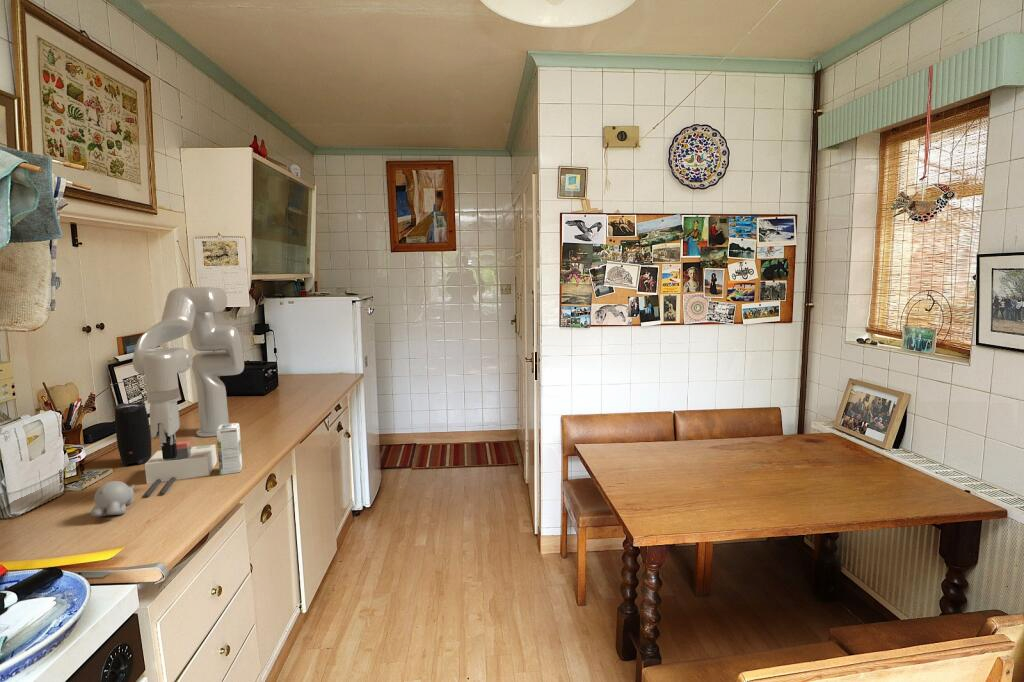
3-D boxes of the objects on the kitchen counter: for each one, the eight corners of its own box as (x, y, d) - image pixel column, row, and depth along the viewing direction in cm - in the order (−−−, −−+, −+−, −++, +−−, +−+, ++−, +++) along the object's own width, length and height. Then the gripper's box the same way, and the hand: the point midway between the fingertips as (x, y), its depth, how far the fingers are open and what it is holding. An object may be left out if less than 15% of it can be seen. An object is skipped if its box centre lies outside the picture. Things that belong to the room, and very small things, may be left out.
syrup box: (222, 468, 158) (217, 424, 156) (243, 465, 160) (239, 422, 158) (219, 475, 152) (215, 429, 150) (241, 472, 155) (237, 427, 153)
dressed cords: (157, 482, 148) (156, 478, 148) (176, 480, 149) (175, 476, 149) (144, 498, 138) (143, 494, 137) (164, 495, 139) (164, 491, 139)
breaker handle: (167, 457, 151) (166, 443, 150) (190, 454, 153) (189, 440, 153) (164, 460, 148) (163, 446, 148) (188, 457, 150) (186, 443, 150)
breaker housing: (159, 469, 158) (157, 450, 157) (217, 461, 164) (215, 444, 163) (146, 483, 147) (144, 464, 146) (208, 475, 152) (207, 456, 152)
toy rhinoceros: (144, 512, 135) (149, 479, 137) (115, 516, 124) (120, 480, 126) (116, 513, 134) (121, 480, 136) (83, 517, 123) (89, 481, 125)
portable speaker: (140, 467, 160) (133, 407, 157) (112, 467, 160) (104, 408, 158) (160, 457, 169) (153, 400, 166) (133, 457, 169) (126, 400, 166)
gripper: (156, 391, 147) (163, 451, 149) (138, 403, 133) (146, 469, 136) (185, 389, 150) (191, 447, 152) (171, 400, 136) (178, 465, 138)
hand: (170, 457), depth 144 cm, fingers closed
